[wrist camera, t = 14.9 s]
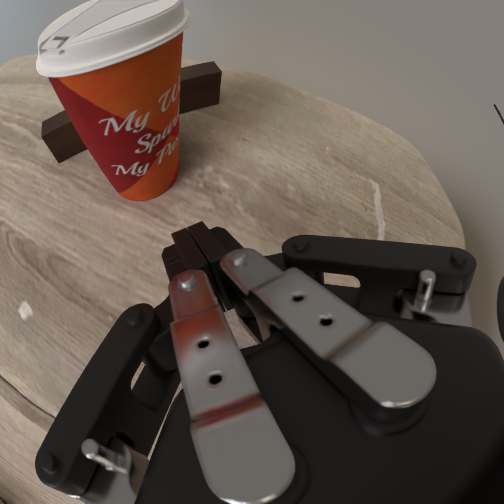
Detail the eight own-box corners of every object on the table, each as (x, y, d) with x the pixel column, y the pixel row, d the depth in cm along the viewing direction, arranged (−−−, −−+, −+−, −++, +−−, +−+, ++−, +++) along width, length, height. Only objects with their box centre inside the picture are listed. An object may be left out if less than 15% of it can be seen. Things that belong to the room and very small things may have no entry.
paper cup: (157, 231, 19) (96, 58, 5) (83, 190, 19) (5, 53, 5) (211, 153, 21) (226, -11, 8) (138, 124, 21) (115, -16, 8)
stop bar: (211, 92, 24) (213, 60, 20) (218, 103, 23) (222, 71, 19) (57, 148, 19) (41, 122, 16) (58, 163, 19) (41, 136, 15)
